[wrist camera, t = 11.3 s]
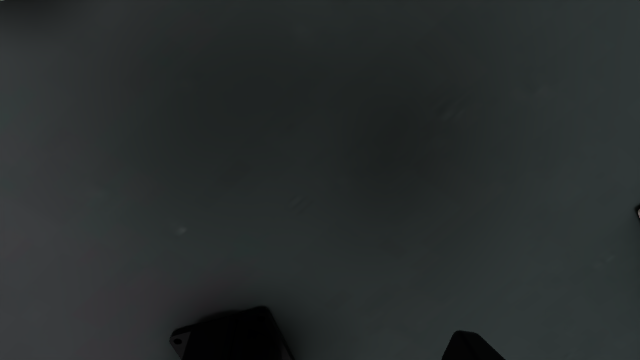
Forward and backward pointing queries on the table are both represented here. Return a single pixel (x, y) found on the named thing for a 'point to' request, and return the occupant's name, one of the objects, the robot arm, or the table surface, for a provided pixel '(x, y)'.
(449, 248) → the table surface
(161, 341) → the table surface
